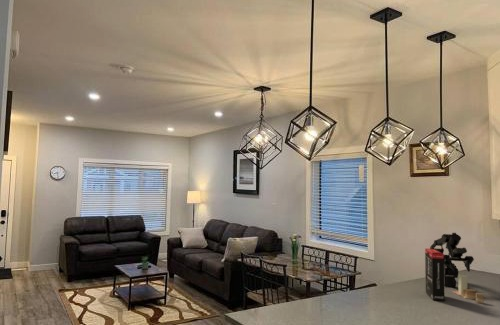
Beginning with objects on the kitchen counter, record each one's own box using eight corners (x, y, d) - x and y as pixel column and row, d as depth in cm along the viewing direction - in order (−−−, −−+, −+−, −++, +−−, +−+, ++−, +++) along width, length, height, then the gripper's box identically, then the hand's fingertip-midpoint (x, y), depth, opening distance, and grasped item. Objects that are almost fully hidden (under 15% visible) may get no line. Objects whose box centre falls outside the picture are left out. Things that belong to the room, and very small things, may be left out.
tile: (451, 291, 233) (451, 290, 233) (466, 292, 232) (466, 291, 232) (458, 295, 224) (458, 294, 224) (474, 296, 223) (474, 295, 223)
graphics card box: (445, 301, 208) (445, 253, 210) (432, 300, 209) (432, 252, 212) (436, 294, 225) (436, 248, 227) (424, 292, 226) (424, 248, 228)
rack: (461, 296, 221) (461, 287, 222) (475, 297, 221) (475, 288, 221) (473, 302, 208) (473, 293, 209) (488, 303, 208) (487, 294, 208)
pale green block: (458, 292, 230) (458, 274, 231) (464, 292, 230) (464, 274, 230) (461, 293, 226) (461, 275, 227) (467, 294, 226) (467, 276, 227)
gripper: (442, 241, 238) (451, 262, 226) (472, 243, 237) (482, 264, 225) (437, 252, 245) (444, 272, 233) (465, 253, 244) (475, 274, 232)
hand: (461, 270), depth 230 cm, fingers open, 9 cm apart
